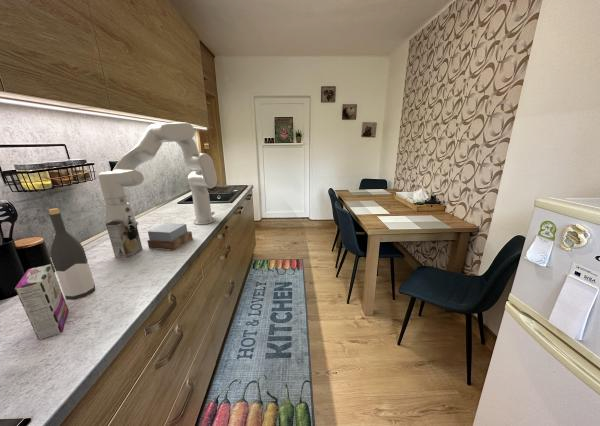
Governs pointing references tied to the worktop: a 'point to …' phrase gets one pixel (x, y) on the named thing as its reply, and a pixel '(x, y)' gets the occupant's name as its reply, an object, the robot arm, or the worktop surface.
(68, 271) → the wine bottle
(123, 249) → the coffee box
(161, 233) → the tower top slab
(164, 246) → the tower base slab
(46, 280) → the candy bar box
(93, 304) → the worktop surface
